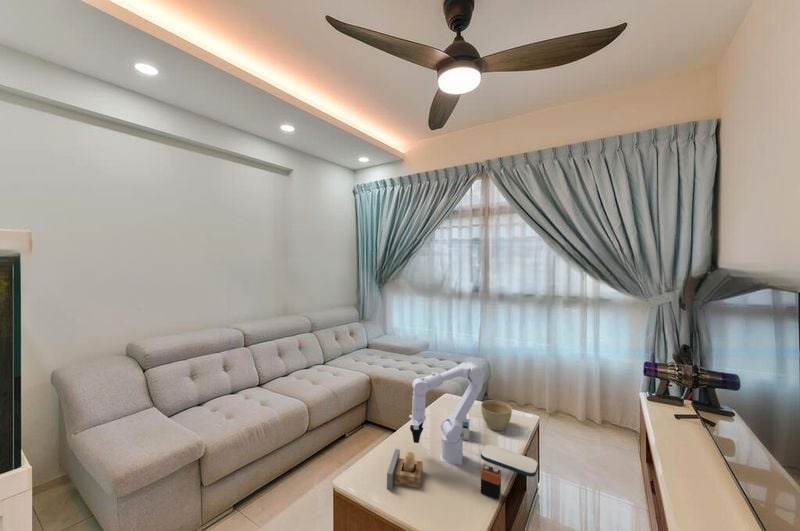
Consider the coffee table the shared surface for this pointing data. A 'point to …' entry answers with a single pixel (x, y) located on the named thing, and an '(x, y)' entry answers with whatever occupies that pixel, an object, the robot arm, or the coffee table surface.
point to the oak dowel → (409, 462)
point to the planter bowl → (496, 414)
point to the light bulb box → (465, 428)
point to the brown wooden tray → (408, 474)
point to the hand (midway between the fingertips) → (417, 437)
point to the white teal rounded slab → (510, 460)
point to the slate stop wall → (392, 469)
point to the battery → (491, 481)
